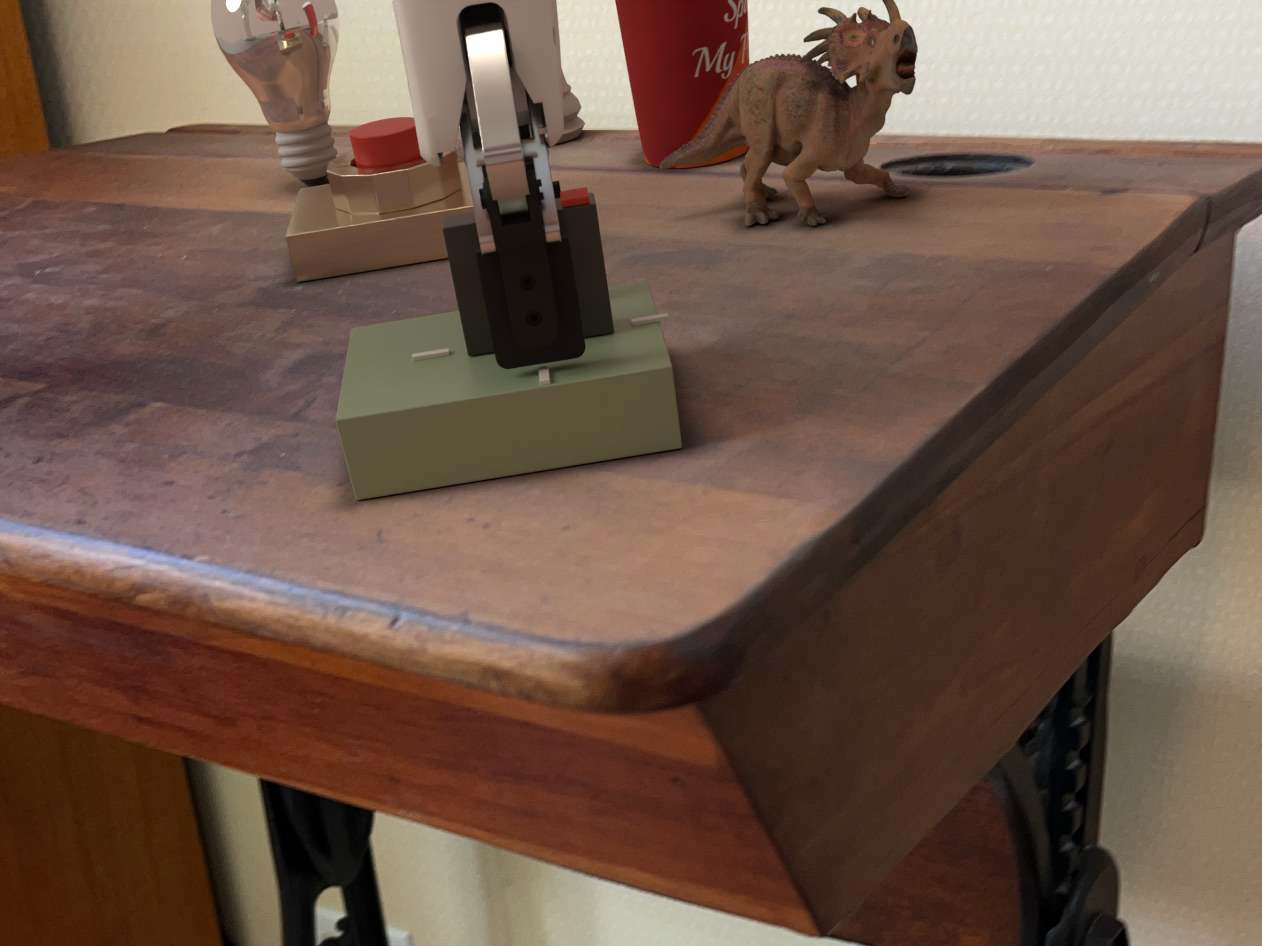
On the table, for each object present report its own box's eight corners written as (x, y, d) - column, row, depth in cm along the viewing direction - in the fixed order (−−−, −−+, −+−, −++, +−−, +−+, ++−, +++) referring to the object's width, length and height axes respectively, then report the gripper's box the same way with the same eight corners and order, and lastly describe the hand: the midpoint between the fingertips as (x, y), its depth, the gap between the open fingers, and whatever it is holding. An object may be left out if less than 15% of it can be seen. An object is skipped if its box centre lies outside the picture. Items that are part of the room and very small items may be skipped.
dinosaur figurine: (963, 191, 79) (961, -31, 73) (920, 230, 75) (915, -1, 69) (710, 189, 85) (689, -17, 79) (658, 225, 81) (632, 12, 75)
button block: (297, 282, 82) (274, 196, 79) (310, 231, 88) (290, 151, 86) (515, 247, 81) (500, 160, 79) (512, 199, 88) (498, 117, 86)
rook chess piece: (572, 122, 100) (550, -29, 95) (596, 135, 97) (574, -21, 92) (503, 138, 99) (476, -14, 94) (524, 152, 96) (498, -5, 91)
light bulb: (392, 177, 95) (340, -65, 88) (282, 209, 93) (218, -37, 85) (346, 159, 100) (292, -71, 92) (240, 189, 98) (176, -45, 90)
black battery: (468, 356, 61) (440, 221, 58) (468, 342, 62) (441, 209, 59) (614, 333, 61) (594, 196, 58) (611, 319, 62) (592, 184, 59)
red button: (355, 179, 81) (346, 141, 80) (359, 161, 84) (351, 124, 83) (427, 167, 81) (419, 129, 80) (428, 150, 84) (421, 112, 83)
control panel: (355, 500, 60) (333, 415, 58) (368, 401, 67) (349, 323, 65) (691, 447, 59) (681, 359, 57) (666, 354, 67) (656, 274, 65)
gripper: (331, -266, 56) (442, 275, 68) (288, -236, 43) (436, 431, 55) (546, -302, 56) (621, 246, 68) (570, -282, 43) (659, 395, 55)
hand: (538, 324), depth 61 cm, fingers open, 6 cm apart
